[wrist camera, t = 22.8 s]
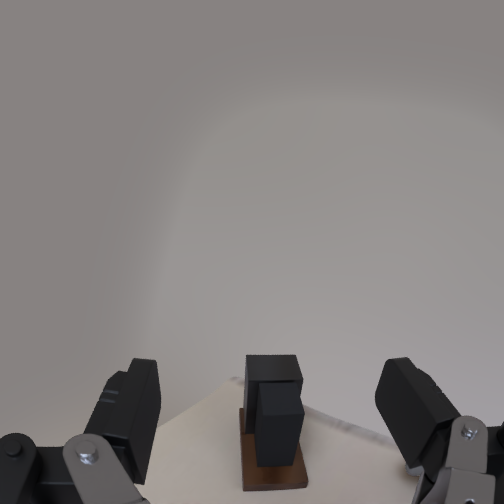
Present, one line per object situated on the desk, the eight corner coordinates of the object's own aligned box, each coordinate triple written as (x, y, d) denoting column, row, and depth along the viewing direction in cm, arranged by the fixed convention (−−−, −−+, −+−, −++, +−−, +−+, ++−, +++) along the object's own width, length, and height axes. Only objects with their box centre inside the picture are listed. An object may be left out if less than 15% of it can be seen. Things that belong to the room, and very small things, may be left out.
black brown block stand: (243, 491, 27) (247, 434, 25) (239, 415, 40) (241, 354, 37) (306, 487, 28) (325, 430, 25) (289, 414, 40) (299, 354, 38)
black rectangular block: (256, 467, 30) (262, 415, 27) (254, 436, 34) (258, 382, 32) (292, 465, 30) (305, 413, 27) (286, 435, 35) (296, 382, 32)
